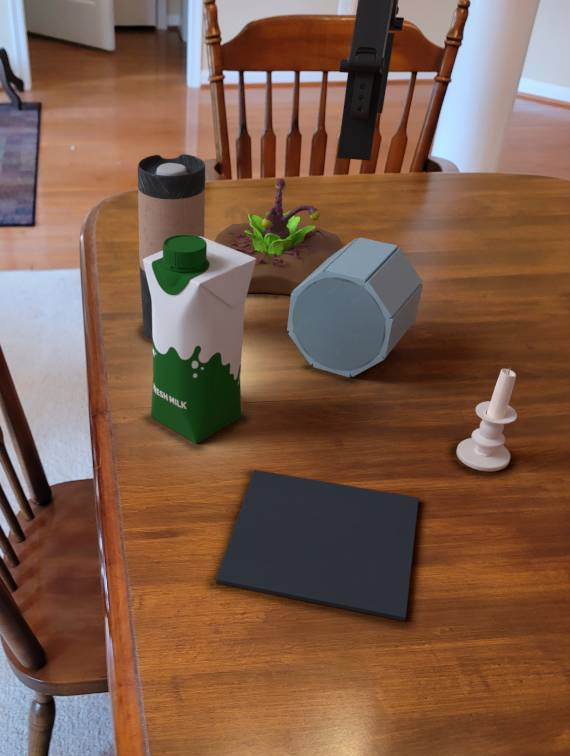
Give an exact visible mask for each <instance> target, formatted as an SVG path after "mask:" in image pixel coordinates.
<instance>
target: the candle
mask: <svg viewBox="0 0 570 756" xmlns="http://www.w3.org/2000/svg"><path fill="white" fill-rule="evenodd" d="M511 369H512V367H511V366H509V368H501V369H500V372H499V375H498V378H497V380H496V383H495V385H494V390H493V393H492V396H491V399H490V400H486V401H482V402H479V403H478V404H476V406H475V413H476V415H477V416H478V418H480V419H482V420H481V421H480V423H479V427H478V428H476V429H474V430H473V431H472V433H471V436H470V437H469V438H466V439H464V440H461V441H460V442H459V443H458V445H457V448H456V449H455V451H456V456H457V458H458V459H459V461H460V462H461V463H463V464H464V465H465V466H467V467H469V468H471V469H473V470H477V471H481V472H497V471H501V470H503V469H505V468H506V467H507V466H508V465H509V464H510V461H511V453H510V451H509V450H508V448H507V447H506V446H504V445H505V442H506V437H505V435H504V434H503V431H504V429H505V425H507V424H511V423H514V421H516V420H517V417H518V412H517V411H516V410H515V408H513V407H512V406H511V405H509V403H510V400H511V397H512V393H513V390H514V386H515V383H516V378H517V373H515V371H513V370H511Z"/></svg>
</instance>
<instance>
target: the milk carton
mask: <svg viewBox="0 0 570 756" xmlns="http://www.w3.org/2000/svg"><path fill="white" fill-rule="evenodd" d="M255 262H256V258H254V257H252V256H249V255H247V254H244V253H242V252H239V251H237V250H234V249H231V248H229V247H226V246H224V245H221V244H219V243H216V242H215V240H214V241H213V240H211V239H209V238H206V237H205V236H204V237H201V236H199V237H198V236H194V235H175V236H171V237H169V238H167V239H166V240H165V241H164V242H163V250H162V251H160V252H158V253H155V254H153V255H151V256H148V257H146V258H144V259H143V263H144V268H145V272H146V277H147V281H148V285H149V290H150V294H151V300H152V334H153V340H152V386H151V387H152V389H151V407H150V418H151V419H153V420H155V421H157V422H158V423H160V424H162V425H163V426H166V427H167V428H168V429H170V430H172V431H174V432H175V433H177V434H179V435H181V436H182V437H184V438H186V439H187V440H189V441H191V442H193V443H195V444H199V443H200V442H202V441H204V440H205V439H207V438H208V437H210V436H212V435H214V434H215V433H217V432H219V431H220V430H222V429H224V428H225V427H227V426H229V425H230V424H232V423H234V422H235V421H237V420H239V419H241V418H243V416H242V390H241V389H242V388H241V371H242V370H241V369H242V355H243V354H242V353H243V336H244V325H245V324H244V323H245V322H244V321H245V307H246V299H247V297H248V293H247V292H248V288H249V285H250V281H251V277H252V274H253V270H254V266H255Z"/></svg>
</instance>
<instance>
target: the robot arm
mask: <svg viewBox="0 0 570 756" xmlns="http://www.w3.org/2000/svg"><path fill="white" fill-rule="evenodd" d="M399 1H400V0H357V6H356V13H355V18H354V24H353V31H352V37H351V45H350V51H349V55H347V59H343V58H341V59H340V62H339V73H346V74H347V78H346V83H345V84H346V85H345V92H344V93H345V94H344V101H343V108H342V117H341V124H340V133H339V142H338V149H337V159H342V160H343V159H345V160H357V161H369V162H370V161H371V158H372V150H373V146H374V145H373V144H374V138H375V130H376V125H377V117H378V114H383V110H384V105H385V104H384V103H385V99H386V98H385V97H386V91H387V84H388V78H389V71H390V66H391V59H392V53H393V45H394V40H395V32H403V27H404V22H405V21H404V20H405V17H404V16H403V17H402V16H397V15H398V14H399V11H400V7H399ZM389 31H390V32H389Z"/></svg>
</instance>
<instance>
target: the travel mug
mask: <svg viewBox="0 0 570 756" xmlns="http://www.w3.org/2000/svg"><path fill="white" fill-rule="evenodd" d="M137 204H138V205H137V206H138V256H139V262H138V263H139V277H140V278H139V280H140V297H141V313H142V327H143V332H144V334H145V335H146V336H147V338H149V339H151V341H153V334H152V300H151V294H150V290H149V285H148V281H147V277H146V272H145V268H144V263H143V259H144V258H146V257H148V256H151V255H153V254H155V253H158V252H160V251H162V250H163V242H164V241H165V240H166V239H167V238H169V237H171V236H175V235H194V236H198V237H199V236H201V237H204V238H205V217H206V216H205V215H206V214H205V211H206V209H205V208H206V164H205V161H203V159H201V158H200V157H198V156H195V155H192V154H187V153H181V154H179V155H178V156H177V157H174V158H165V157H162V156H161V155H160V154H151V155H149V156H146V157H144V158H142V159H141V160H140V161H139V162H138V163H137Z"/></svg>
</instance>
